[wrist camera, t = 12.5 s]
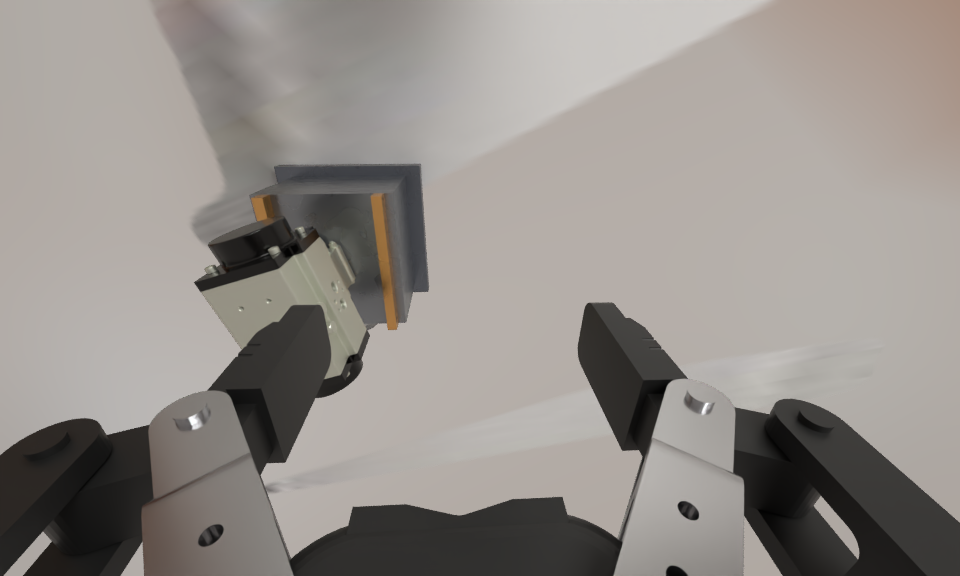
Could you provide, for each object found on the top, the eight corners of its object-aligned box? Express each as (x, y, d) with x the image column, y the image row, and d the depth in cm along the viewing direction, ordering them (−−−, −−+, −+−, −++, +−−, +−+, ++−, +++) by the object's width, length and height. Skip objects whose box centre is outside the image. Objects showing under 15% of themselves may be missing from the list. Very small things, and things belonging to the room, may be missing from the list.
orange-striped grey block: (279, 165, 36) (216, 184, 27) (420, 163, 37) (409, 182, 27) (310, 301, 43) (269, 356, 33) (429, 297, 44) (422, 350, 34)
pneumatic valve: (335, 328, 34) (281, 429, 23) (269, 208, 29) (160, 267, 18) (391, 312, 34) (363, 407, 23) (335, 188, 28) (264, 235, 18)
